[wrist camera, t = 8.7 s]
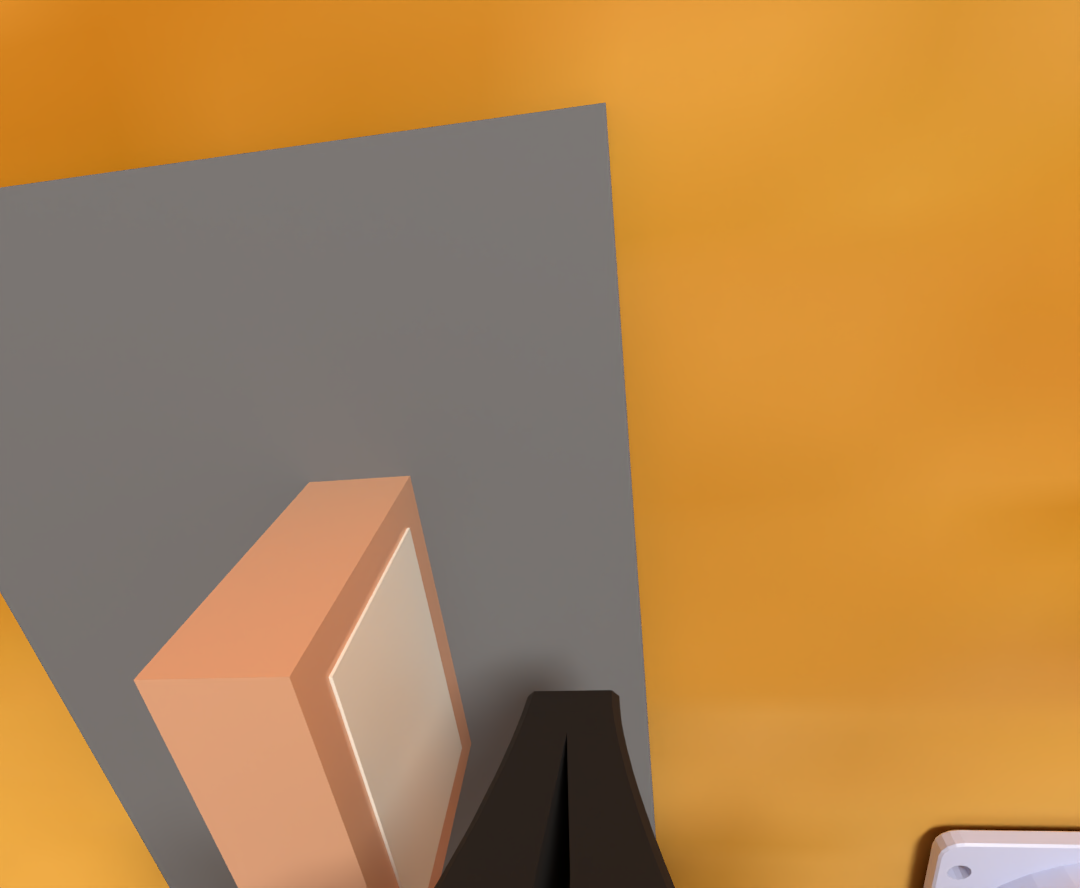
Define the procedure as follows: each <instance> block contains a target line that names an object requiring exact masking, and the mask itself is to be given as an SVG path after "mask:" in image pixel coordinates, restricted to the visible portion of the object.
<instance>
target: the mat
mask: <svg viewBox="0 0 1080 888" xmlns="http://www.w3.org/2000/svg"><path fill="white" fill-rule="evenodd" d="M398 476H410V478H411V482H412V486H413V491H414V495H415V500H416V504H417V508H418V513H419V517H420V521H421V526H422V530H423V534H424V539H425V543H426V548H427V552H428V556H429V561H430V565H431V569H432V574H433V578H434V583H435V587H436V591H437V596H438V600H439V604H440V609H441V613H442V618H443V622H444V626H445V631H446V635H447V639H448V644H449V648H450V653H451V657H452V661H453V666H454V670H455V674H456V679H457V683H458V688H459V692H460V696H461V701H462V705H463V709H464V714H465V718H466V723H467V727H468V731H469V736H470V740H471V747H470V751H469V756H468V760H467V765H466V769H465V773H464V778H463V782H462V786H461V791H460V795H459V800H458V804H457V808H456V813H455V817H454V821H453V826H452V830H451V835H450V839H449V843H448V848H447V852H446V856H445V861H444V865H443V870H442V873H443V872H444V870H445V868H446V866H447V865H448V863H449V861H450V859H451V858H452V856H453V854H454V852H455V850H456V849H457V847H458V845H459V843H460V842H461V840H462V838H463V836H464V835H465V833H466V831H467V829H468V827H469V826H470V824H471V822H472V820H473V818H474V816H475V814H476V812H477V810H478V808H479V806H480V804H481V802H482V800H483V798H484V796H485V794H486V792H487V790H488V788H489V786H490V784H491V782H492V780H493V778H494V776H495V774H496V772H497V770H498V768H499V766H500V764H501V761H502V759H503V757H504V755H505V753H506V750H507V748H508V746H509V744H510V741H511V739H512V737H513V734H514V732H515V730H516V727H517V725H518V722H519V720H520V717H521V714H522V712H523V709H524V706H525V703H526V700H527V697H528V696H529V695H530V694H531V693H533V692H534V691H582V690H612V691H614V692H615V693H616V694H617V695H619V698H620V710H621V721H622V727H623V732H624V737H625V741H626V746H627V750H628V754H629V757H630V761H631V765H632V769H633V772H634V776H635V779H636V782H637V786H638V789H639V792H640V795H641V798H642V801H643V804H644V807H645V810H646V813H647V816H648V818H649V821H650V824H651V827H652V830H653V833H654V836H655V839H656V834H655V820H654V805H653V790H652V776H651V761H650V747H649V732H648V717H647V703H646V688H645V673H644V659H643V644H642V629H641V615H640V600H639V585H638V571H637V556H636V542H635V527H634V512H633V498H632V483H631V468H630V454H629V439H628V424H627V410H626V395H625V380H624V366H623V351H622V336H621V322H620V307H619V293H618V278H617V263H616V249H615V234H614V219H613V205H612V190H611V175H610V161H609V146H608V131H607V117H606V103H600V104H593V105H586V106H578V107H571V108H564V109H557V110H550V111H543V112H536V113H529V114H522V115H514V116H507V117H500V118H493V119H486V120H479V121H472V122H465V123H458V124H450V125H443V126H436V127H429V128H422V129H415V130H408V131H401V132H394V133H386V134H379V135H372V136H365V137H358V138H351V139H344V140H337V141H330V142H322V143H315V144H308V145H301V146H294V147H287V148H280V149H273V150H266V151H258V152H251V153H244V154H237V155H230V156H223V157H216V158H209V159H202V160H194V161H187V162H180V163H173V164H166V165H159V166H152V167H145V168H138V169H130V170H123V171H116V172H109V173H102V174H95V175H88V176H81V177H74V178H66V179H59V180H52V181H45V182H38V183H31V184H24V185H17V186H10V187H2V188H0V592H1V594H2V596H3V598H4V599H5V601H6V603H7V605H8V606H9V608H10V610H11V612H12V613H13V615H14V617H15V618H16V620H17V622H18V624H19V625H20V627H21V629H22V631H23V632H24V634H25V636H26V638H27V639H28V641H29V643H30V645H31V646H32V648H33V650H34V652H35V653H36V655H37V657H38V659H39V660H40V662H41V664H42V666H43V667H44V669H45V671H46V673H47V674H48V676H49V678H50V680H51V681H52V683H53V685H54V686H55V688H56V690H57V692H58V693H59V695H60V697H61V699H62V700H63V702H64V704H65V706H66V707H67V709H68V711H69V713H70V714H71V716H72V718H73V720H74V721H75V723H76V725H77V727H78V728H79V730H80V732H81V734H82V735H83V737H84V739H85V741H86V742H87V744H88V746H89V748H90V749H91V751H92V753H93V754H94V756H95V758H96V760H97V761H98V763H99V765H100V767H101V768H102V770H103V772H104V774H105V775H106V777H107V779H108V781H109V782H110V784H111V786H112V788H113V789H114V791H115V793H116V795H117V796H118V798H119V800H120V802H121V803H122V805H123V807H124V809H125V810H126V812H127V814H128V816H129V817H130V819H131V821H132V822H133V824H134V826H135V828H136V829H137V831H138V833H139V835H140V836H141V838H142V840H143V842H144V843H145V845H146V847H147V849H148V850H149V852H150V854H151V856H152V857H153V859H154V861H155V863H156V864H157V866H158V868H159V870H160V871H161V873H162V875H163V877H164V878H165V880H166V882H167V884H168V885H169V887H170V888H238V887H237V885H236V883H235V881H234V879H233V877H232V875H231V873H230V871H229V869H228V867H227V865H226V863H225V861H224V859H223V857H222V855H221V853H220V851H219V849H218V847H217V845H216V843H215V841H214V839H213V837H212V835H211V833H210V831H209V829H208V827H207V825H206V823H205V821H204V819H203V817H202V815H201V813H200V811H199V809H198V807H197V805H196V803H195V801H194V799H193V797H192V795H191V793H190V791H189V789H188V787H187V785H186V783H185V781H184V779H183V777H182V775H181V773H180V771H179V769H178V767H177V765H176V763H175V761H174V759H173V757H172V755H171V753H170V751H169V750H168V748H167V746H166V744H165V742H164V740H163V738H162V736H161V734H160V732H159V730H158V728H157V726H156V724H155V722H154V720H153V718H152V716H151V714H150V712H149V710H148V708H147V706H146V704H145V702H144V700H143V698H142V696H141V694H140V692H139V690H138V688H137V686H136V684H135V682H134V679H135V678H136V677H137V675H138V674H139V673H140V672H141V671H142V670H143V669H144V668H145V666H146V665H147V664H148V663H149V662H150V661H151V660H152V659H153V657H154V656H155V655H156V654H157V653H158V652H159V651H160V650H161V648H162V647H163V646H164V645H165V644H166V643H167V642H168V641H169V639H170V638H171V637H172V636H173V635H174V634H175V633H176V632H177V630H178V629H179V628H180V627H181V626H182V625H183V624H184V623H185V621H186V620H187V619H188V618H189V617H190V616H191V615H192V614H193V612H194V611H195V610H196V609H197V608H198V607H199V606H200V605H201V603H202V602H203V601H204V600H205V599H206V598H207V597H208V596H209V594H210V593H211V592H212V591H213V590H214V589H215V588H216V587H217V585H218V584H219V583H220V582H221V581H222V580H223V579H224V578H225V576H226V575H227V574H228V573H229V572H230V571H231V570H232V569H233V567H234V566H235V565H236V564H237V563H238V562H239V561H240V560H241V558H242V557H243V556H244V555H245V554H246V553H247V552H248V551H249V549H250V548H251V547H252V546H253V545H254V544H255V543H256V542H257V540H258V539H259V538H260V537H261V536H262V535H263V534H264V533H265V531H266V530H267V529H268V528H269V527H270V526H271V525H272V524H273V522H274V521H275V520H276V519H277V518H278V517H279V516H280V515H281V513H282V512H283V511H284V510H285V509H286V508H287V507H288V506H289V504H290V503H291V502H292V501H293V500H294V499H295V498H296V497H297V495H298V494H299V493H300V492H301V491H302V490H303V489H304V488H305V486H306V485H307V484H308V483H309V482H320V481H336V480H351V479H367V478H382V477H398ZM441 875H442V874H441Z"/></svg>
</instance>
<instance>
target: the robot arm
mask: <svg viewBox="0 0 1080 888" xmlns="http://www.w3.org/2000/svg"><path fill="white" fill-rule="evenodd" d="M434 888H675V887H674V885H673V882H672V880H671V877H670V875H669V872H668V870H667V867H666V865H665V862H664V860H663V857H662V854H661V852H660V849H659V846H658V844H657V841H656V839H655V836H654V833H653V830H652V827H651V824H650V821H649V818H648V816H647V813H646V810H645V807H644V804H643V801H642V798H641V795H640V792H639V789H638V786H637V782H636V779H635V776H634V772H633V769H632V765H631V761H630V757H629V754H628V750H627V746H626V741H625V737H624V732H623V727H622V721H621V710H620V698H619V695H617V694H616V693H615V692H614V691H612V690H582V691H534V692H533V693H531V694H530V695H529V696H528V697H527V700H526V703H525V706H524V709H523V712H522V714H521V717H520V720H519V722H518V725H517V727H516V730H515V732H514V734H513V737H512V739H511V741H510V744H509V746H508V748H507V750H506V753H505V755H504V757H503V759H502V761H501V764H500V766H499V768H498V770H497V772H496V774H495V776H494V778H493V780H492V782H491V784H490V786H489V788H488V790H487V792H486V794H485V796H484V798H483V800H482V802H481V804H480V806H479V808H478V810H477V812H476V814H475V816H474V818H473V820H472V822H471V824H470V826H469V827H468V829H467V831H466V833H465V835H464V836H463V838H462V840H461V842H460V843H459V845H458V847H457V849H456V850H455V852H454V854H453V856H452V858H451V859H450V861H449V863H448V865H447V866H446V868H445V870H444V872H443V873H442V875H441V877H440V879H439V880H438V882H437V884H436V885H435V887H434ZM923 888H1080V831H1020V830H949V831H946V832H943V833H941V834H940V835H938V836H937V837H936V838H935V840H934V842H933V844H932V848H931V853H930V858H929V863H928V868H927V873H926V878H925V883H924V887H923Z"/></svg>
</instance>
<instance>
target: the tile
mask: <svg viewBox="0 0 1080 888" xmlns="http://www.w3.org/2000/svg"><path fill="white" fill-rule="evenodd" d="M134 682H135V684H136V686H137V688H138V690H139V692H140V694H141V696H142V698H143V700H144V702H145V704H146V706H147V708H148V710H149V712H150V714H151V716H152V718H153V720H154V722H155V724H156V726H157V728H158V730H159V732H160V734H161V736H162V738H163V740H164V742H165V744H166V746H167V748H168V750H169V751H170V753H171V755H172V757H173V759H174V761H175V763H176V765H177V767H178V769H179V771H180V773H181V775H182V777H183V779H184V781H185V783H186V785H187V787H188V789H189V791H190V793H191V795H192V797H193V799H194V801H195V803H196V805H197V807H198V809H199V811H200V813H201V815H202V817H203V819H204V821H205V823H206V825H207V827H208V829H209V831H210V833H211V835H212V837H213V839H214V841H215V843H216V845H217V847H218V849H219V851H220V853H221V855H222V857H223V859H224V861H225V863H226V865H227V867H228V869H229V871H230V873H231V875H232V877H233V879H234V881H235V883H236V885H237V887H238V888H434V887H435V885H436V884H437V882H438V880H439V879H440V877H441V874H442V870H443V865H444V861H445V856H446V852H447V848H448V843H449V839H450V835H451V830H452V826H453V821H454V817H455V813H456V808H457V804H458V800H459V795H460V791H461V786H462V782H463V778H464V773H465V769H466V765H467V760H468V756H469V751H470V747H471V740H470V736H469V731H468V727H467V723H466V718H465V714H464V709H463V705H462V701H461V696H460V692H459V688H458V683H457V679H456V674H455V670H454V666H453V661H452V657H451V653H450V648H449V644H448V639H447V635H446V631H445V626H444V622H443V618H442V613H441V609H440V604H439V600H438V596H437V591H436V587H435V583H434V578H433V574H432V569H431V565H430V561H429V556H428V552H427V548H426V543H425V539H424V534H423V530H422V526H421V521H420V517H419V513H418V508H417V504H416V500H415V495H414V491H413V486H412V482H411V478H410V476H398V477H382V478H367V479H351V480H336V481H320V482H309V483H308V484H307V485H306V486H305V488H304V489H303V490H302V491H301V492H300V493H299V494H298V495H297V497H296V498H295V499H294V500H293V501H292V502H291V503H290V504H289V506H288V507H287V508H286V509H285V510H284V511H283V512H282V513H281V515H280V516H279V517H278V518H277V519H276V520H275V521H274V522H273V524H272V525H271V526H270V527H269V528H268V529H267V530H266V531H265V533H264V534H263V535H262V536H261V537H260V538H259V539H258V540H257V542H256V543H255V544H254V545H253V546H252V547H251V548H250V549H249V551H248V552H247V553H246V554H245V555H244V556H243V557H242V558H241V560H240V561H239V562H238V563H237V564H236V565H235V566H234V567H233V569H232V570H231V571H230V572H229V573H228V574H227V575H226V576H225V578H224V579H223V580H222V581H221V582H220V583H219V584H218V585H217V587H216V588H215V589H214V590H213V591H212V592H211V593H210V594H209V596H208V597H207V598H206V599H205V600H204V601H203V602H202V603H201V605H200V606H199V607H198V608H197V609H196V610H195V611H194V612H193V614H192V615H191V616H190V617H189V618H188V619H187V620H186V621H185V623H184V624H183V625H182V626H181V627H180V628H179V629H178V630H177V632H176V633H175V634H174V635H173V636H172V637H171V638H170V639H169V641H168V642H167V643H166V644H165V645H164V646H163V647H162V648H161V650H160V651H159V652H158V653H157V654H156V655H155V656H154V657H153V659H152V660H151V661H150V662H149V663H148V664H147V665H146V666H145V668H144V669H143V670H142V671H141V672H140V673H139V674H138V675H137V677H136V678H135V679H134Z"/></svg>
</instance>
